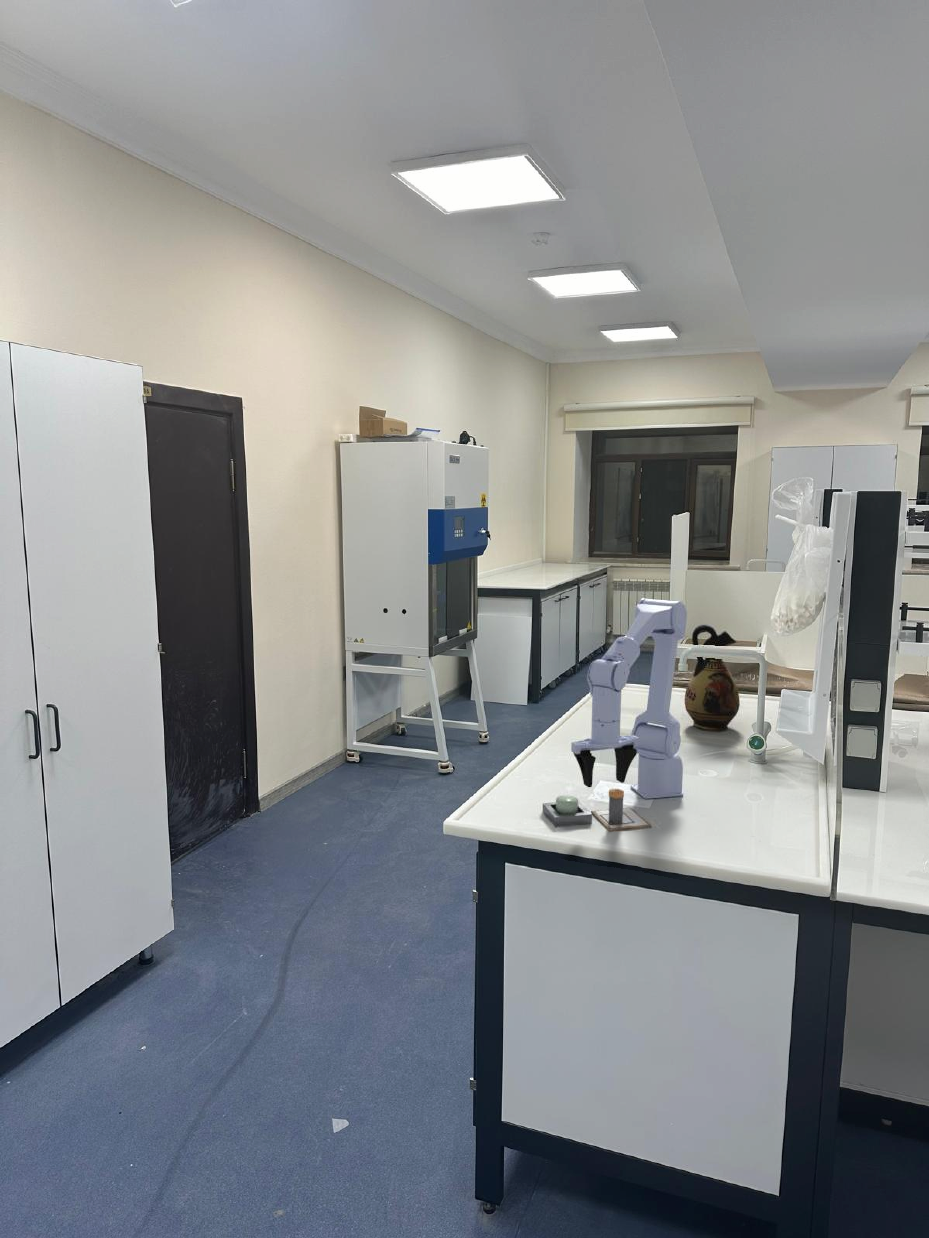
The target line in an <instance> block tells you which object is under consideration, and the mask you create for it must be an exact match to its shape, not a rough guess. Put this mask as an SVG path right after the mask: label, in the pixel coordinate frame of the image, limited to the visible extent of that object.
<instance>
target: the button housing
mask: <svg viewBox="0 0 929 1238" xmlns="http://www.w3.org/2000/svg"><path fill="white" fill-rule="evenodd" d="M542 813H543V815H544V816H545V817H546V818H547V820H548V821H549V822H550V823H551V824H552V825H553V826H554V827H555V828H557V827H567V826H568V827H570V826H578V825H590V824H593V814H592V813H591V811H590V810H588V809H587V807H586V806H584V804H582V803H581V801H579V800H578V813H573V814H562V815H561V814H558V813H557V812H556V801H555V802H542Z"/></svg>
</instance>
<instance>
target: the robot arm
mask: <svg viewBox="0 0 929 1238" xmlns="http://www.w3.org/2000/svg"><path fill="white" fill-rule="evenodd" d="M687 620H688V611H687V608H686V606H685V604H684V602H683V601H682V600H676V601H675V600H674V601H672V600H665V599H664V600H663V599H650V598H647V597H643V598H641V599H640V600H639V601H638V602H637V605H636V606H635V612H634V621H633V622H632V624H631V625H630V627H629V629H628V630H627V632H626V634H625V635H624V636H623V635H622V636H618V637H617V638H615V640H614V642H613V643H612V644H611V645H610V647H609V648H608V650H607V651H606V652H605V654H604V655H603V656H602V657H601V659H600V658H599V659H596V660H594V661H592V662H591V663H590V665H589V666H588V671H587V674H586V680H587V684H588V687H589V694H590V696H592V698H591V699H592V701H591V704H592V705H591V733H590V735H591V736H590V737H588V738H585V739H581V740H578V741H572V742H571V745H570V746H571V750H570V751H571V752H572V753H573V755H574V757H575V759H576V761H577V764H578V766H579V769H580V773H581V776H582V781H583V785H584V786H586V788H592V786H593V774H594V773H593V772H594V768H595V767H594V765H595V762H596V759H597V758H596V756H594V755H592V754H593V753H592V752H594V751H604V750H610V749H611V750H612V749H613V750H614V755H615V779H616V781H617V782H619V783H621V784H625V782H626V781H625V780H626V777H627V774H628V771H629V768H630V766H631V764H632V762H633V760H634V759H635V758H636V756H637V754H638V764H637V765H638V766H637V767H638V768H637V784H631V785H630V788H631V789H632V790H633V791H635V792H636V793H637V794H639V795H640V797H642V798H643V799H646V800H647V799H658V798H659V799H660V798H661V799H662V798H671V797H683V796H684V792H683V775H684V774H683V773H684V772H683V771H684V766H683V765H684V764H683V761H682V758H681V756H680V755H679V753H678V752H679V750H680V747H681V742H682V741H681V723H680V722H679V721H678V719H676V718H675V717H674V716H673V715H672V714H671V712H670V711H671V710H670V708H671V702H672V690H673V682H674V676H675V667H676V661H677V660H676V659H677V650H678V643H679V640H683V639H684V638H685V633H686V628H687ZM649 636H650V637H652V639H653V641H654V648H653V655H652V662H651V663H652V664H651V673H650V678H649V679H650V681H649V689H648V695H647V696H648V697H647V704H646V705H647V706H646V710H645V711H644V712H642V713H640V714H638V715H637V716H636V717H635V720H634V724H633V727H632V730H631V732H630V733H631V734H630V735H621V718H622V717H621V711H622V709H621V707H622V690H624V688H625V687H626V685H627V682H628V678H629V675H630V673H631V671H630V669H631V667H632V666H633V665H634V663H635V662H636V661H637V660H638V658H639V656H640V654H641V648H640V646H641V645H642V644H643V643H644V642H645V640H647V638H649Z"/></svg>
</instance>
